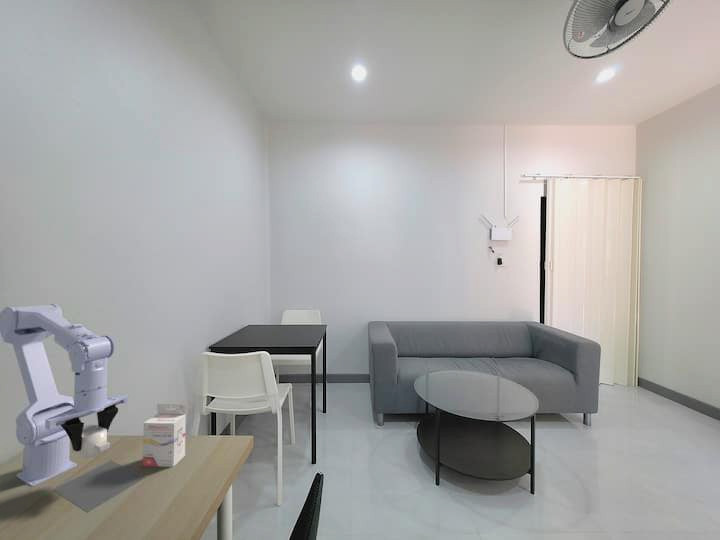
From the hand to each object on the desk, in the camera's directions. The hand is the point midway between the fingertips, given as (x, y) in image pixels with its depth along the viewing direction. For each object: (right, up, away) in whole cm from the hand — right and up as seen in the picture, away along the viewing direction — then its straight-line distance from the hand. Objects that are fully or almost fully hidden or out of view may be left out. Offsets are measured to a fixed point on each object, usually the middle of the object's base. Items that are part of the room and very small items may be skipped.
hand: (89, 444), depth 66 cm
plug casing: (+1, -1, -1) cm, 2 cm away
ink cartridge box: (+13, -10, +7) cm, 18 cm away
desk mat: (+3, -9, -1) cm, 10 cm away
